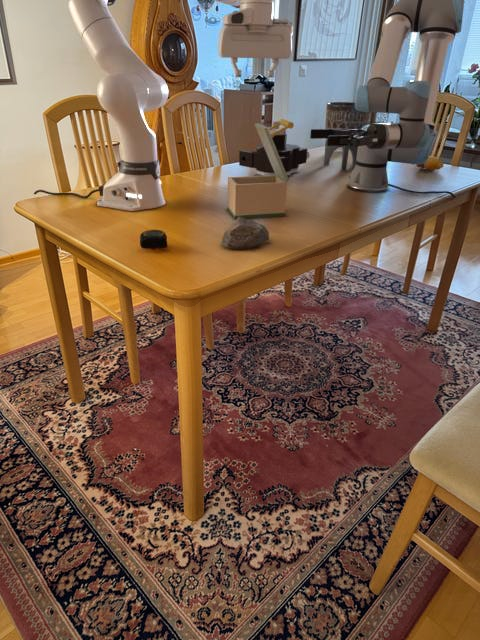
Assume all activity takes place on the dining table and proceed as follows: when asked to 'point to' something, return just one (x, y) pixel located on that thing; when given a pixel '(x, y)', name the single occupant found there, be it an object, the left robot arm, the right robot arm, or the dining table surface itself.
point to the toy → (431, 164)
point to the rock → (245, 234)
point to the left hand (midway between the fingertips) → (254, 77)
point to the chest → (256, 196)
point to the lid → (273, 145)
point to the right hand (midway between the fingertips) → (318, 137)
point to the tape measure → (153, 239)
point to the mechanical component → (287, 153)
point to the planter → (344, 127)
